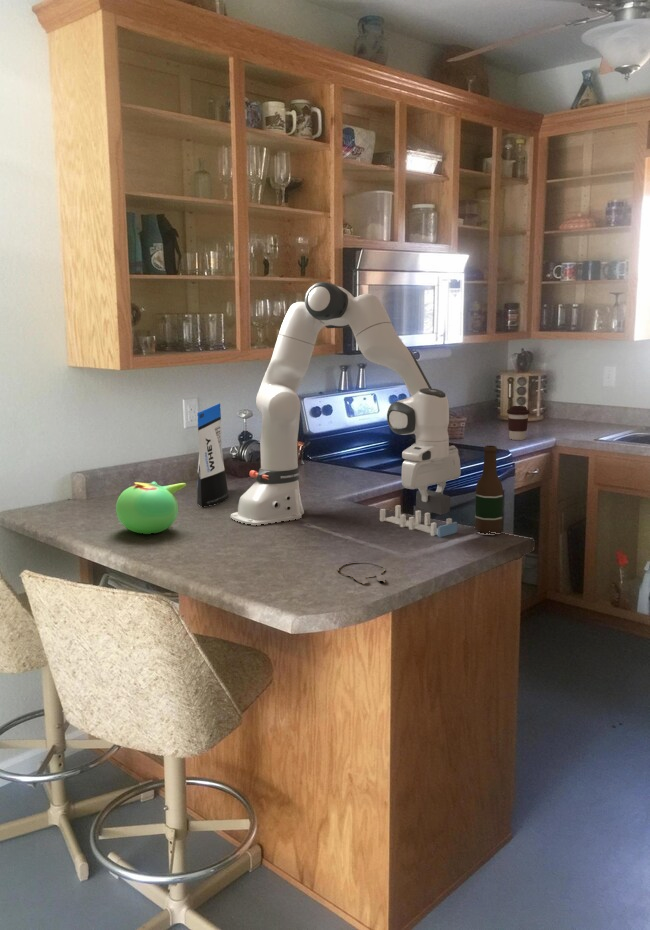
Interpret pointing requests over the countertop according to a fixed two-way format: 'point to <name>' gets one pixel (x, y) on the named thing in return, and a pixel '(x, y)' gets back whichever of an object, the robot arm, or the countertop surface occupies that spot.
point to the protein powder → (210, 459)
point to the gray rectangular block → (434, 502)
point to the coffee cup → (517, 422)
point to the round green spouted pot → (148, 507)
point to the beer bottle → (489, 496)
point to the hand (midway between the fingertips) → (432, 499)
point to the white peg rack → (413, 521)
